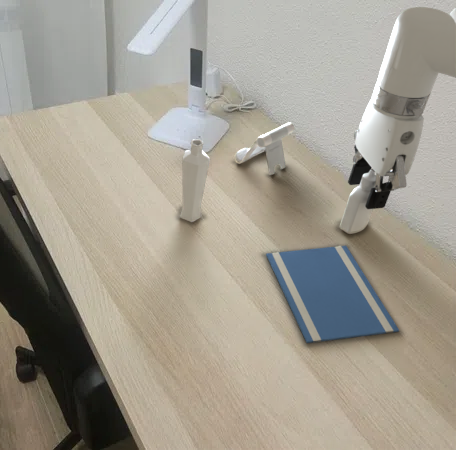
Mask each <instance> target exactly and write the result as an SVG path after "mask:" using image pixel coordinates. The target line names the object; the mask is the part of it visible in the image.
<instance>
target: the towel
mask: <svg viewBox="0 0 456 450" xmlns="http://www.w3.org/2000/svg"><path fill="white" fill-rule="evenodd" d="M265 256H266V259H267V260H268V263H269V265H270V267H271V269H272V271H273V273H274V275H275V277H276V280H277V282H278V284H279V287H280V289H281V291H282V293H283V295H284V297H285V299H286V302H287V304H288V306H289V308H290V311H291V313H292V315H293V317H294V319H295V321H296V323H297V326H298V327H299V330H300V332H301V334H302V336H303V338H304V340H305V343H306V344H314V343H320V342H328V341H329V342H330V341H335V340H345V339H353V338H361V337H368V336H374V335H375V336H376V335H384V334H391V333H398V332H400V329H399V327H398V326H397V324H396V322H395V321H394V319H393V318H392V316H391V315H390V312H389V311H388V310H387V308H386V307H385V305H384V303H383V302H382V300H381V299H380V297H379V296H378V293H376V290H375V289H374V287H373V286H372V285H371V283H370V282H369V280H368V278H367V276H366V274H364V272H363V270H362V268H361V267H360V265H359V264H358V262H357V261H356V259H355V257H354V255H353V254H352V253H351V251H350V249H349V248H348V246H347V245H336V246H327V247H319V248H318V247H317V248H308V249H306V248H305V249H299V250H298V249H297V250H288V251H276V252H268V253H266V255H265Z"/></svg>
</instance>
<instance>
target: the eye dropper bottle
mask: <svg viewBox="0 0 456 450" xmlns="http://www.w3.org/2000/svg"><path fill="white" fill-rule="evenodd" d="M375 182H376V172H375V171H374V170H373V168H371V169H370V171H369V173H365V174H363V176H362V179H361V182H360V184H358V185H356V187H354V188H353V190H352V191H351V192H350V194H349V195H348V200H347V203H346V206H345V208H344V211H343V214H342V217H341V221H340V224H339V229H341V230H342V231H343V232H345V233H346V234H349V235H351V234H352V235H353V234H357V233H360V232H362V231H363V230H365V229H366V227H367V226H368V224H369V221H370V219H371V217H372V214H373V211H374V209H367V208H366V207H365V205H366V202H367V199H368V197H369V194H370V191H371V189H372V188H375Z"/></svg>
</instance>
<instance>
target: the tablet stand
mask: <svg viewBox="0 0 456 450" xmlns="http://www.w3.org/2000/svg"><path fill="white" fill-rule="evenodd" d="M295 129H296V127H295V125H294V124H293V123H292V122H287V123H285V124H282V125H281V126H279V127H277V128H275V129H272V130H271V131H268V132H266V133H265V134H264V133H263V134H262V135H260V136H258V137H256V139H255V140H254V142H253V144H252V145H251V146H250V147H249V148H248V147H244V148H241V149H240V150H238V151H236V152H235V155H234V161H235V162H236V163H237V164H239V165H240V164H244V163H246V162H247V161H248V160H251V159H252V158H254V157H256V156H258V155H260V154H262V153H264V152H265V155H266V156H265V158H266V163H267V169H268V174H269V175H271V176H272V175H274V174H275V173H276V172H275V171H276V169H275V167H276V166H279V169H280V170H283V169H285V168H286V160H285V152H284V144H283V138H285V137H287V136H289V135H291V134H293V133H295Z"/></svg>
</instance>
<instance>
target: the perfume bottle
mask: <svg viewBox="0 0 456 450" xmlns="http://www.w3.org/2000/svg"><path fill="white" fill-rule="evenodd" d="M204 144H205V143H204V141H203V140H202V139H199V138H197V139H195V138H194V139H191V141H190V149H188V150H187V149H186V150H185V151H184V153H183V156H182V161H181V165H182V167H181V170H182V171H181V172H182V173H181V175H182V177H181V178H182V179H181V181H182V182H181V183H182V185H181V186H182V189H181V190H182V191H181V192H182V195H181V196H182V197H181V198H182V208H181V212H180V215H179V218H180V219H183V220H185V221H188V222H190V223H193V222H195V221H198V220H199V219H201V218H202V217H203V215H202V211H201V207H202V202H203V196H204V192H205V188H206V182H207V177H208V172H209V168H210V167H209V166H210V162H211V158H210V157H209V155H208V154H207V153H206V152H205V151H204V150H203V147H204Z"/></svg>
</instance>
